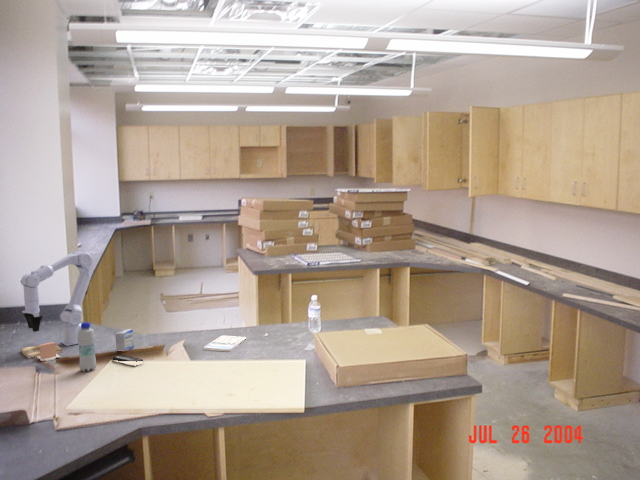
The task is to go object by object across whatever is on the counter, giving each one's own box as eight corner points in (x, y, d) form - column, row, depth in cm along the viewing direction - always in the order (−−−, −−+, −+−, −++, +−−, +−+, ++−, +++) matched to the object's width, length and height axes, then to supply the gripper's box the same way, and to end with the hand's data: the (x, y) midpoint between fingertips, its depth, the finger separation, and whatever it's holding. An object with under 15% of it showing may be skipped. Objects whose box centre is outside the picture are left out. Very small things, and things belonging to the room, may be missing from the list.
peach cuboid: (55, 355, 249) (54, 341, 249) (56, 356, 248) (55, 342, 247) (40, 358, 245) (39, 344, 245) (41, 359, 244) (40, 345, 243)
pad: (55, 354, 252) (55, 352, 252) (60, 358, 246) (60, 357, 246) (36, 357, 247) (36, 356, 247) (41, 362, 241) (41, 361, 241)
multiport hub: (120, 359, 245) (120, 354, 245) (143, 364, 237) (143, 359, 237) (112, 362, 241) (112, 356, 241) (135, 367, 234) (135, 362, 233)
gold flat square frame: (53, 345, 266) (53, 341, 265) (62, 352, 255) (61, 347, 255) (20, 351, 257) (20, 347, 257) (28, 358, 246) (28, 354, 246)
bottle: (100, 367, 233) (97, 320, 230) (89, 373, 226) (85, 325, 224) (87, 366, 235) (84, 319, 233) (75, 371, 228) (72, 323, 226)
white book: (247, 340, 271) (246, 336, 270) (229, 352, 251) (229, 348, 251) (221, 338, 274) (221, 334, 274) (202, 350, 255) (202, 346, 255)
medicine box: (125, 352, 253) (124, 333, 252) (116, 351, 254) (115, 333, 253) (134, 347, 261) (133, 328, 260) (125, 346, 262) (124, 328, 261)
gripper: (18, 299, 256) (20, 328, 258) (25, 304, 245) (28, 334, 247) (34, 296, 261) (37, 325, 262) (43, 301, 250) (45, 331, 251)
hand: (33, 329), depth 255 cm, fingers open, 7 cm apart
